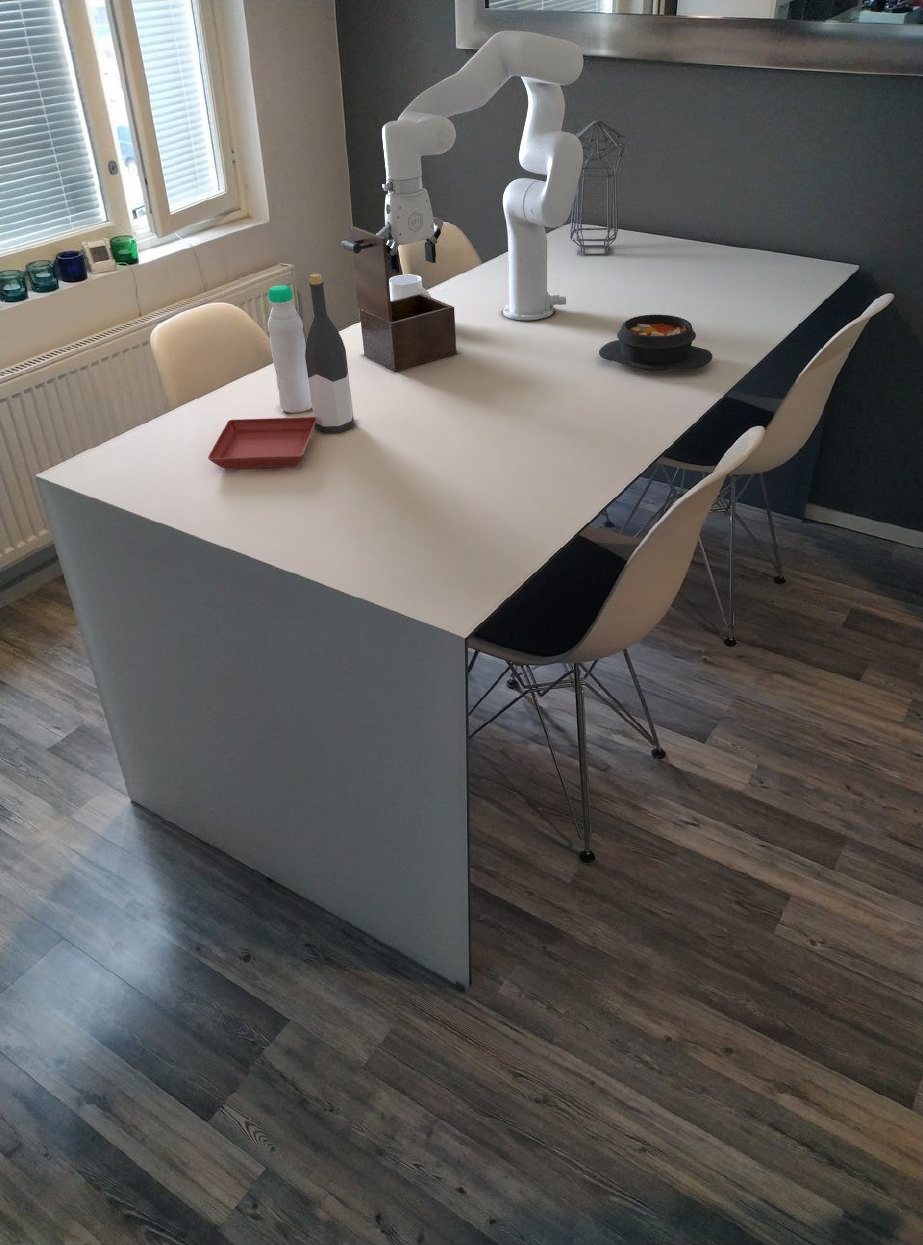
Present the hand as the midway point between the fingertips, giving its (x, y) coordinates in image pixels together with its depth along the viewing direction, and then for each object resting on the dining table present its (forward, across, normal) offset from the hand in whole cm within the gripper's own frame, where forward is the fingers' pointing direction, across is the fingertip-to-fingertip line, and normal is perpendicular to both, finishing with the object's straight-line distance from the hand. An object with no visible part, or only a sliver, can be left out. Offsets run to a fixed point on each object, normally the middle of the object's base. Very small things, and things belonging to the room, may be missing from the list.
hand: (412, 266), depth 225 cm
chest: (+20, -3, 0) cm, 20 cm away
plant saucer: (+18, -52, -26) cm, 61 cm away
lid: (-1, -10, 0) cm, 10 cm away
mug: (+20, +10, +19) cm, 29 cm away
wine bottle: (+19, -36, -24) cm, 47 cm away
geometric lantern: (+22, +84, +35) cm, 94 cm away
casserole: (+20, +35, -41) cm, 58 cm away
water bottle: (+19, -38, -10) cm, 43 cm away
